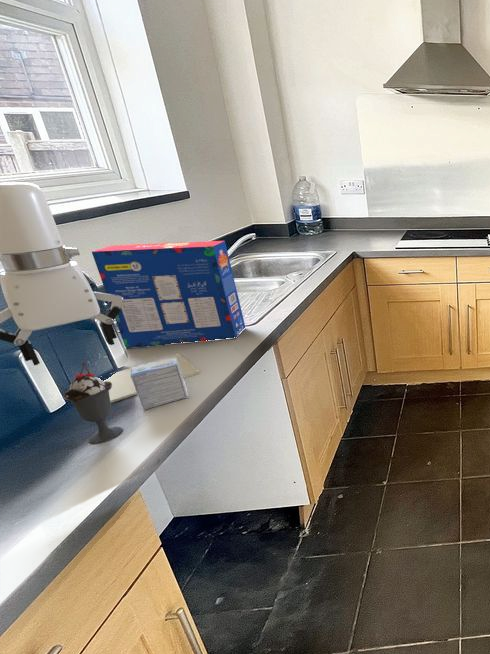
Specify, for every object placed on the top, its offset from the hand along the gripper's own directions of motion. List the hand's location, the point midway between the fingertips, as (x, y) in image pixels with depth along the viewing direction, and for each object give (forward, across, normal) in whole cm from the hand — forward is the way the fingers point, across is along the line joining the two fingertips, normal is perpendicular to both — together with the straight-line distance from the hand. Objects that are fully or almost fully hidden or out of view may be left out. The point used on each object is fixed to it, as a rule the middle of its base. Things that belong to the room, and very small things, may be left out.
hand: (75, 352), depth 75 cm
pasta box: (+18, -25, -42) cm, 52 cm away
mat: (+18, -10, -22) cm, 30 cm away
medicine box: (+18, -10, -6) cm, 22 cm away
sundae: (+18, 0, 0) cm, 18 cm away
